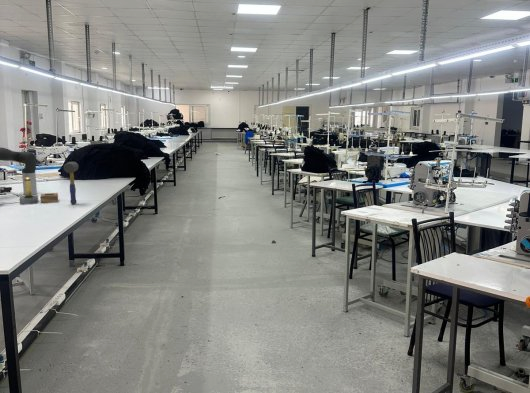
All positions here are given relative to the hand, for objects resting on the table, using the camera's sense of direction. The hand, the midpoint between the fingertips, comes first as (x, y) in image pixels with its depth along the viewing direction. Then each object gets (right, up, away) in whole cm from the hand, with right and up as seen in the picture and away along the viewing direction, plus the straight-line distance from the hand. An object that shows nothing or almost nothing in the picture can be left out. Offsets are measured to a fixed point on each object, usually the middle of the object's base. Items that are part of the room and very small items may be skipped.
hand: (11, 189), depth 300 cm
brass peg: (+9, -9, +6) cm, 14 cm away
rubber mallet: (+43, -11, +2) cm, 44 cm away
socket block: (+9, -9, +6) cm, 14 cm away
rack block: (+21, -8, +12) cm, 26 cm away
